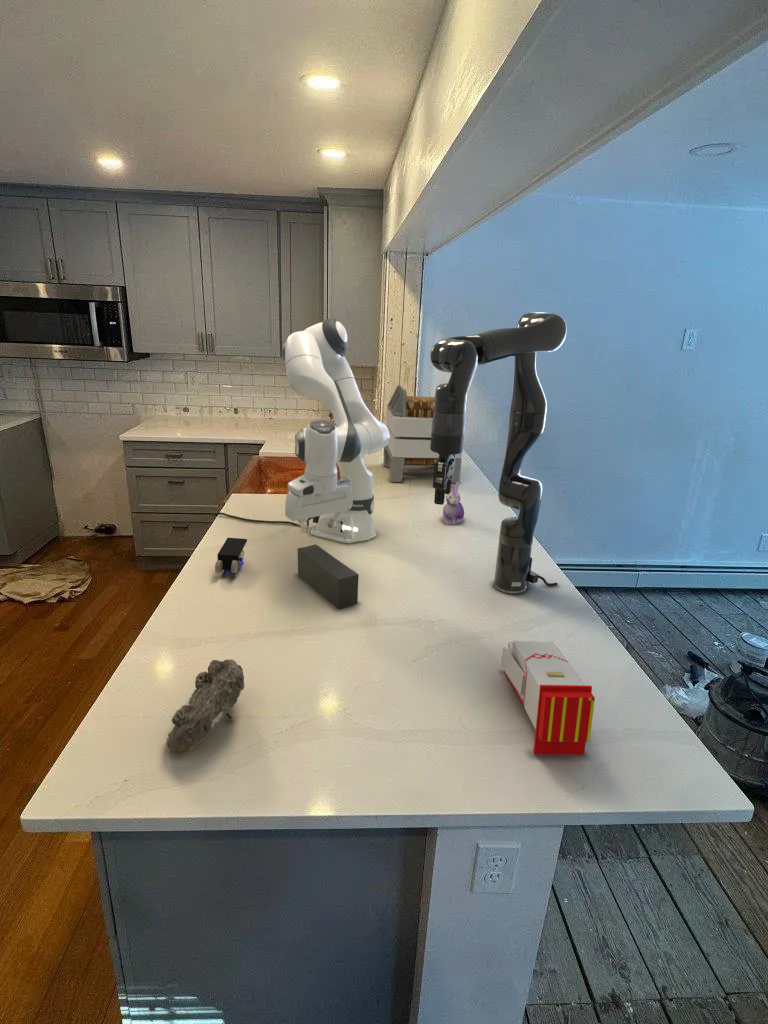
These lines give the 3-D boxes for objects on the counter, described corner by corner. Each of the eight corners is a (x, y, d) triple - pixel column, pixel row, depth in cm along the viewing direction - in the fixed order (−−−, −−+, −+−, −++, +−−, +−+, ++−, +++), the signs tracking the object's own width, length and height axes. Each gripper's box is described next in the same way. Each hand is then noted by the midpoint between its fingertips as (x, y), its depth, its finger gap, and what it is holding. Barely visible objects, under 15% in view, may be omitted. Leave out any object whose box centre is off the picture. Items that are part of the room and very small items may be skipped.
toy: (549, 624, 127) (604, 693, 98) (544, 678, 130) (596, 762, 100) (496, 622, 127) (535, 692, 97) (491, 677, 129) (528, 761, 100)
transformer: (382, 463, 289) (386, 382, 275) (445, 464, 293) (451, 384, 279) (390, 482, 257) (394, 392, 243) (460, 483, 261) (468, 394, 247)
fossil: (192, 660, 117) (244, 628, 112) (224, 691, 120) (276, 661, 115) (142, 746, 98) (202, 712, 93) (182, 779, 101) (242, 748, 96)
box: (297, 575, 166) (297, 548, 163) (315, 570, 169) (315, 544, 166) (338, 609, 149) (338, 579, 146) (357, 603, 152) (358, 574, 149)
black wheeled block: (238, 584, 162) (249, 557, 175) (236, 562, 158) (247, 536, 172) (215, 584, 161) (227, 556, 175) (212, 561, 158) (225, 535, 171)
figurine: (449, 526, 208) (453, 487, 203) (434, 517, 216) (437, 480, 211) (470, 523, 212) (474, 485, 207) (455, 514, 221) (458, 477, 216)
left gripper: (345, 473, 162) (343, 517, 167) (282, 484, 150) (282, 531, 155) (358, 479, 158) (356, 525, 163) (294, 491, 146) (293, 540, 151)
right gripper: (459, 438, 121) (453, 510, 127) (468, 427, 134) (462, 492, 140) (425, 435, 123) (420, 505, 129) (437, 424, 136) (432, 488, 142)
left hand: (319, 528), depth 159 cm, fingers open, 8 cm apart
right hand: (442, 498), depth 134 cm, fingers open, 8 cm apart
